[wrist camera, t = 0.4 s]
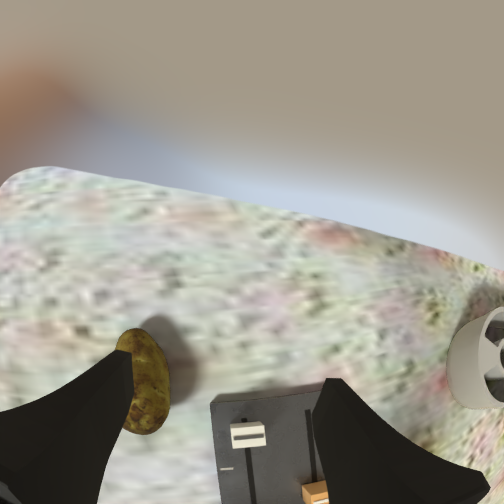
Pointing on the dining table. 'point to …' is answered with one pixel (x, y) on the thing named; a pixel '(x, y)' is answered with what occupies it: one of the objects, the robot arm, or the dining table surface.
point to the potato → (146, 382)
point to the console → (267, 450)
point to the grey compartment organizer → (476, 362)
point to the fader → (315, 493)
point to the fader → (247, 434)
